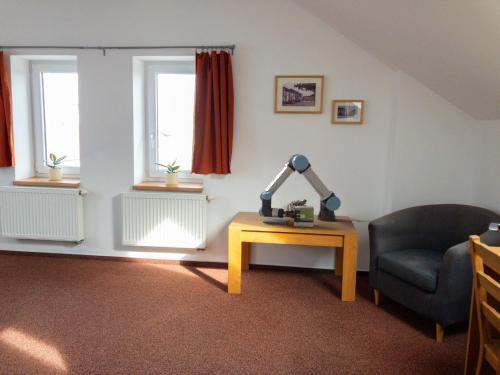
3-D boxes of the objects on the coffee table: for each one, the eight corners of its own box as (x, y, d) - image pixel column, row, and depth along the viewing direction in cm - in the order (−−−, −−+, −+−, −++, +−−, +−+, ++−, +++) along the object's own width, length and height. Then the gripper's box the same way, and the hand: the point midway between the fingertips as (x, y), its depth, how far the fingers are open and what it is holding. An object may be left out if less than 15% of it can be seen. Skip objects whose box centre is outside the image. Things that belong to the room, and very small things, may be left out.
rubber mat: (289, 220, 330) (289, 218, 329) (285, 224, 312) (285, 223, 312) (268, 218, 334) (268, 217, 334) (263, 222, 317) (263, 221, 317)
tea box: (312, 224, 314) (313, 206, 312) (313, 227, 304) (314, 208, 302) (293, 223, 315) (294, 205, 314) (293, 226, 306) (294, 207, 304)
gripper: (281, 215, 326) (308, 216, 320) (275, 220, 303) (303, 222, 297) (281, 206, 325) (308, 207, 319) (275, 210, 302) (304, 212, 296)
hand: (306, 214), depth 308 cm, fingers closed on tea box, 11 cm apart
